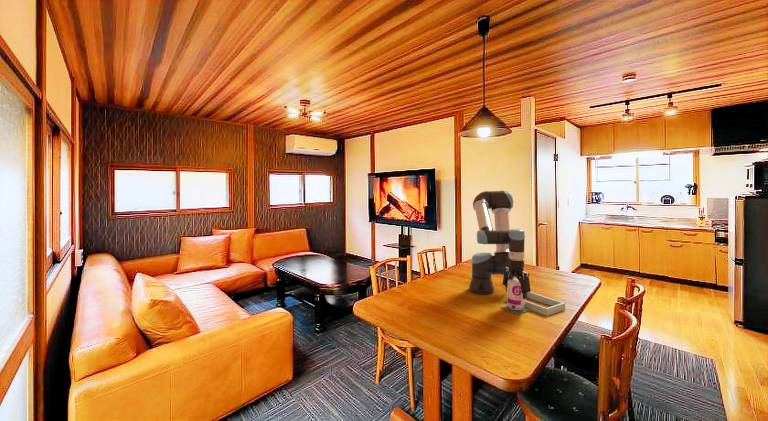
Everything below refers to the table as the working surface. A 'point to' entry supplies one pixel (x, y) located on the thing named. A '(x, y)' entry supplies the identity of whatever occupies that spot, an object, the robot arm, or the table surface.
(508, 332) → the table surface
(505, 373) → the table surface
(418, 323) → the table surface
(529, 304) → the grey rectangular frame
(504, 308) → the mat
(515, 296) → the supplement can
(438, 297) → the table surface
